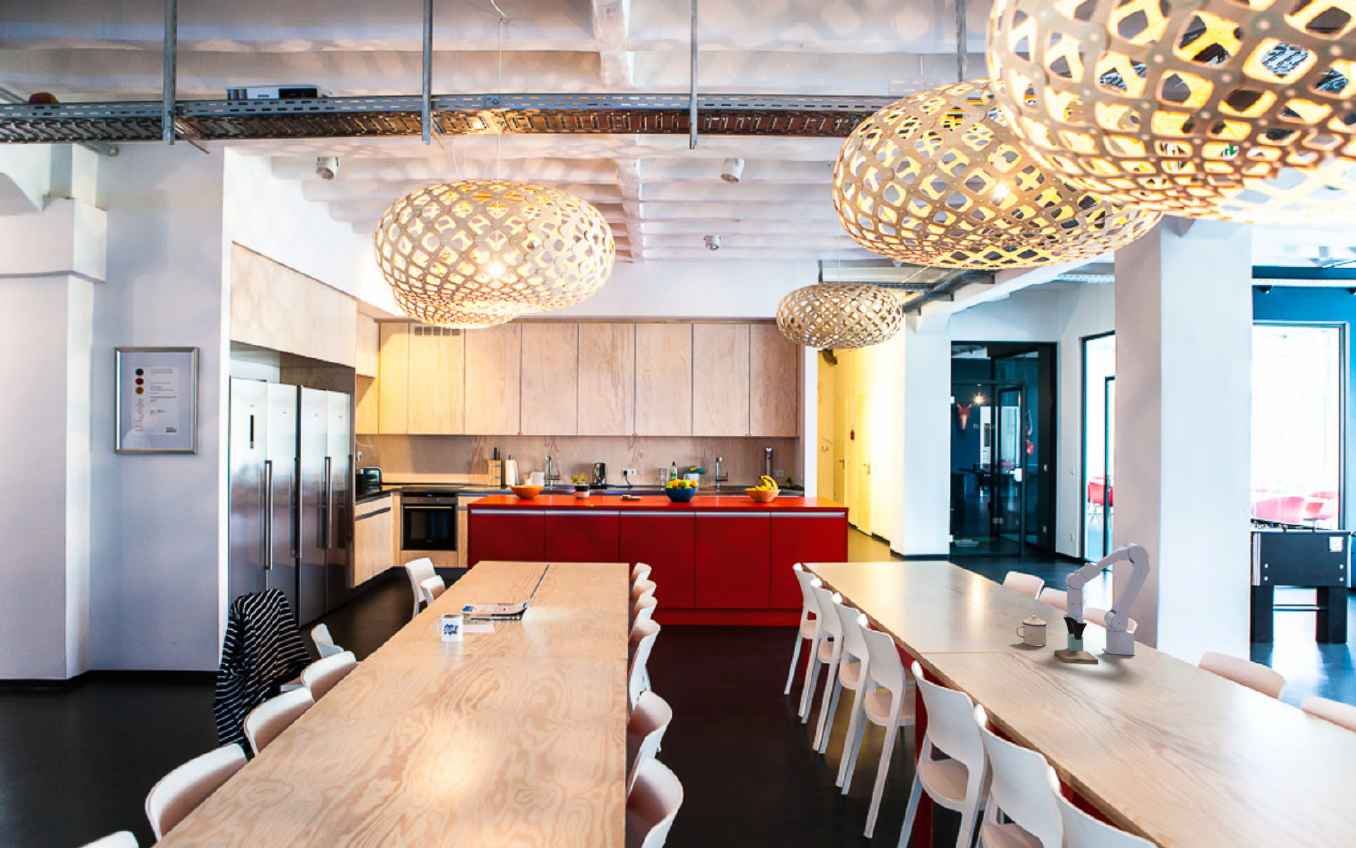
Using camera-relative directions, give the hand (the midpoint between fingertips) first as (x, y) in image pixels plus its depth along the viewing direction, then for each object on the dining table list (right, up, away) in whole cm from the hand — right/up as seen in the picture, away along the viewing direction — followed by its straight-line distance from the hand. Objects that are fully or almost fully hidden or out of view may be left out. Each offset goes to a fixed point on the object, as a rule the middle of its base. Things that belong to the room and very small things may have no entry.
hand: (1074, 637), depth 316 cm
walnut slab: (-6, -5, -13) cm, 15 cm away
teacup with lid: (-13, -6, +9) cm, 17 cm away
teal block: (0, -5, 0) cm, 5 cm away
